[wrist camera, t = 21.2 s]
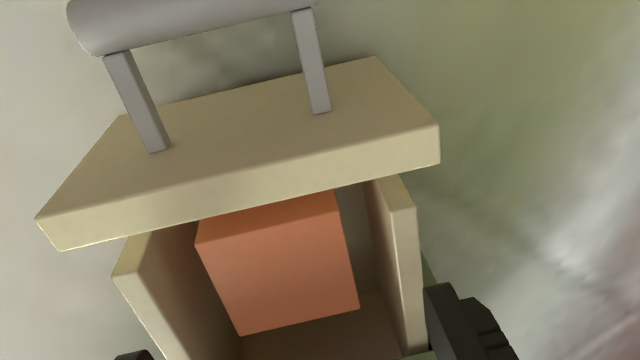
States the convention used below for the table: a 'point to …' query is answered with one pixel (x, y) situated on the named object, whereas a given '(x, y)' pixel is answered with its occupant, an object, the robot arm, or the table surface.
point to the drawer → (248, 182)
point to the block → (279, 262)
